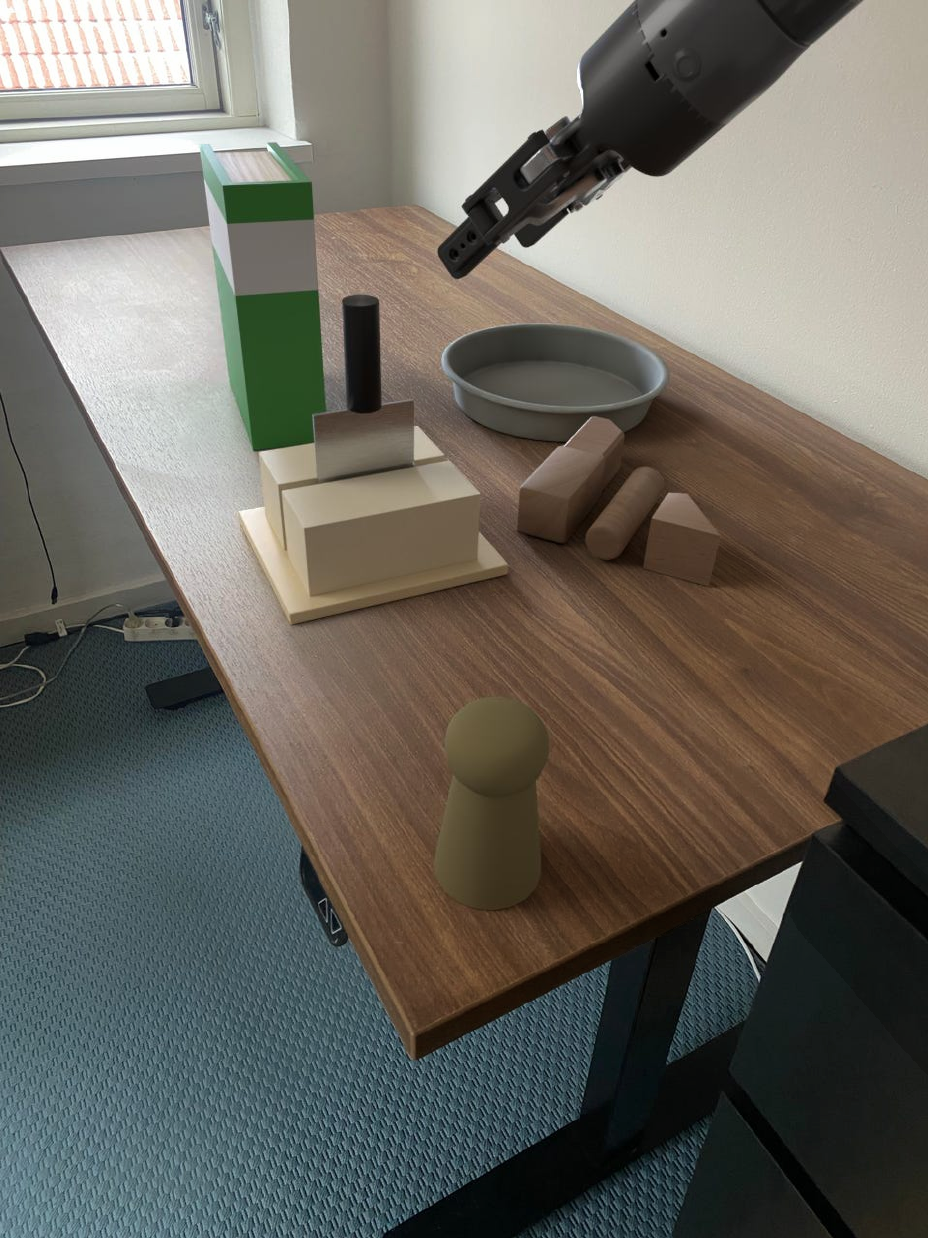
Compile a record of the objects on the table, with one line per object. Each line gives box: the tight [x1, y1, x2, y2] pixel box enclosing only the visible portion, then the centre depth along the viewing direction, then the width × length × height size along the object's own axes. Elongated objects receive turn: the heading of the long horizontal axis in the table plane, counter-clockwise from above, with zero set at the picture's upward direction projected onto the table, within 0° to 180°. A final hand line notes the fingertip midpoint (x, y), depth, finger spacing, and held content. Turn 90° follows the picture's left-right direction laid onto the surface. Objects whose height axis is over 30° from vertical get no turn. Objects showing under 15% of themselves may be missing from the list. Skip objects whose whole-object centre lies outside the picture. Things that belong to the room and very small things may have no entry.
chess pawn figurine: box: [433, 696, 550, 911], centre depth 48 cm, size 6×6×11 cm
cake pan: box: [440, 322, 671, 443], centre depth 101 cm, size 25×25×4 cm
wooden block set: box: [516, 416, 721, 587], centre depth 81 cm, size 17×6×18 cm
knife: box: [313, 293, 415, 484], centre depth 69 cm, size 8×3×14 cm, turn 115°
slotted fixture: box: [237, 425, 509, 625], centre depth 75 cm, size 18×16×7 cm
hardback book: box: [199, 141, 327, 451], centre depth 91 cm, size 18×7×24 cm, turn 19°
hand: (484, 249), depth 58 cm, fingers open, 8 cm apart
